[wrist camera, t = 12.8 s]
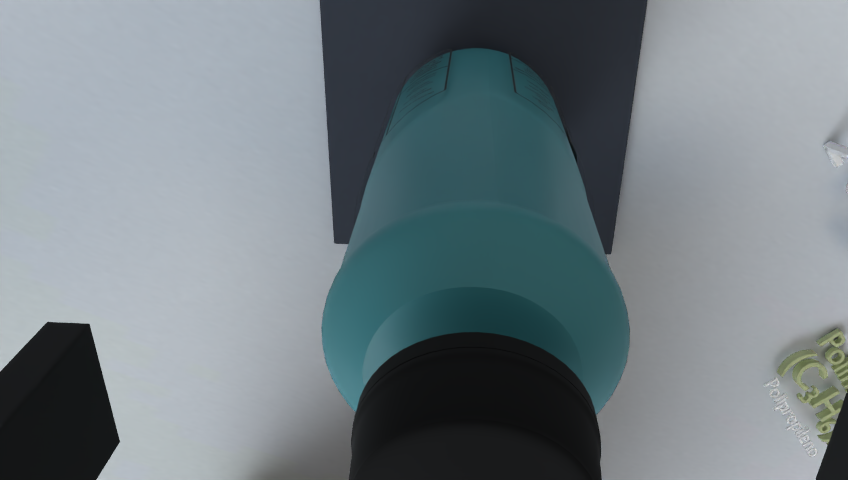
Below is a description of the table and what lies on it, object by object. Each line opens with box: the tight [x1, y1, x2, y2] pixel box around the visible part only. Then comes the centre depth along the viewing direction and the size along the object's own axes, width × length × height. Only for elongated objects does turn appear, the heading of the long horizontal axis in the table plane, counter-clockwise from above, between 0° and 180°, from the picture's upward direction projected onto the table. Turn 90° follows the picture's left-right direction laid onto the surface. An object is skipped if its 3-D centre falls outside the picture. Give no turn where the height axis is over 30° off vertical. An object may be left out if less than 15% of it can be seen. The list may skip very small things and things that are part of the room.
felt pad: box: [320, 0, 647, 254], centre depth 28 cm, size 12×12×1 cm
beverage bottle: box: [322, 48, 630, 480], centre depth 19 cm, size 6×7×20 cm
